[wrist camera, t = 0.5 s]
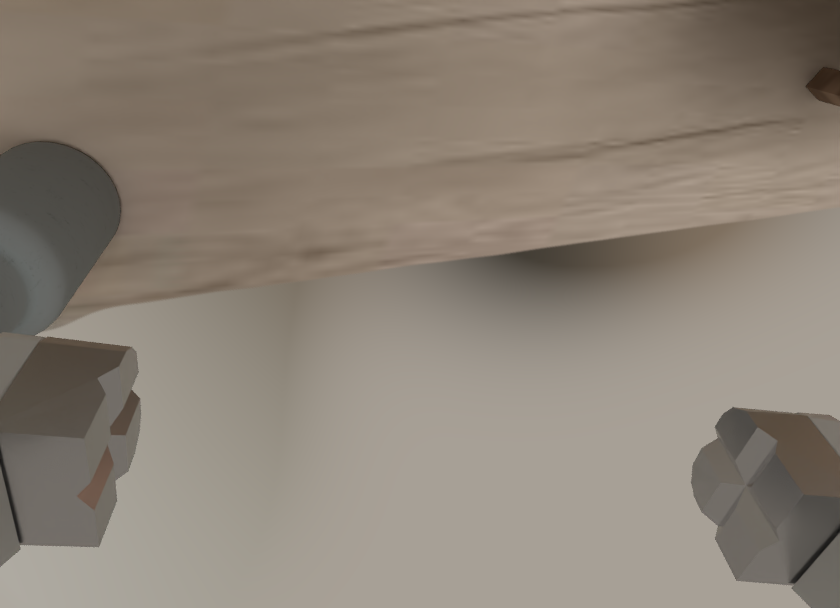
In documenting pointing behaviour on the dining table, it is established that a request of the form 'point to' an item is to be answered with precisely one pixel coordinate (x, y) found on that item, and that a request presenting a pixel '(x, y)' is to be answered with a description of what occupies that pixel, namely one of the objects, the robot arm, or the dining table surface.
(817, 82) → the walnut stool
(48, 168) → the water bottle
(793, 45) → the dining table surface
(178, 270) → the dining table surface
